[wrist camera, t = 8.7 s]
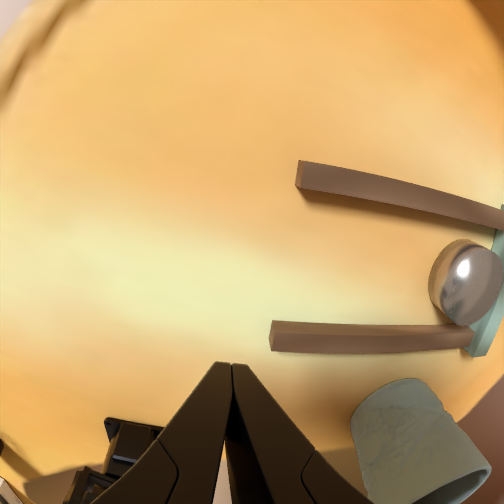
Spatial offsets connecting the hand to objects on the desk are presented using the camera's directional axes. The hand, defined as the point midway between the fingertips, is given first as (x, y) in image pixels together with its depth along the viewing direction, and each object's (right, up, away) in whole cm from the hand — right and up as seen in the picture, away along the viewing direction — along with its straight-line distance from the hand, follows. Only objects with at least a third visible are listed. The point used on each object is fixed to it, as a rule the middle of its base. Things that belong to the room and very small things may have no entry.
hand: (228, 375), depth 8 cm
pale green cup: (+14, -12, +18) cm, 25 cm away
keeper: (+17, +1, +13) cm, 21 cm away
